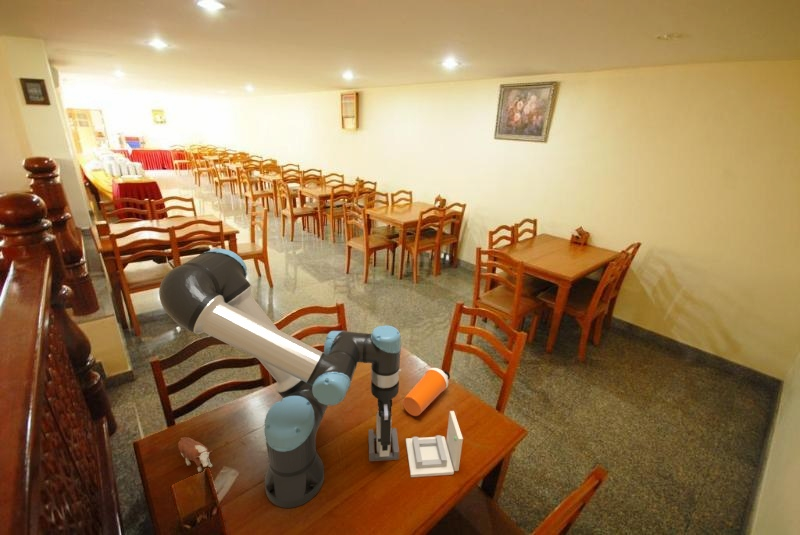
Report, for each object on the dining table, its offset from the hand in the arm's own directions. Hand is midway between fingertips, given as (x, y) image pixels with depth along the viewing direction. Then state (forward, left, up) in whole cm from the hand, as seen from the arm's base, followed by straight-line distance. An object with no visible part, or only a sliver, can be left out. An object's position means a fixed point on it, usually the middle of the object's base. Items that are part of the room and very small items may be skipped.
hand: (383, 442), depth 104 cm
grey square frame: (0, 0, -2) cm, 2 cm away
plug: (0, 0, -2) cm, 2 cm away
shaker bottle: (+10, +11, +2) cm, 15 cm away
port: (+13, -4, -2) cm, 14 cm away
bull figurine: (-51, -2, -3) cm, 51 cm away
